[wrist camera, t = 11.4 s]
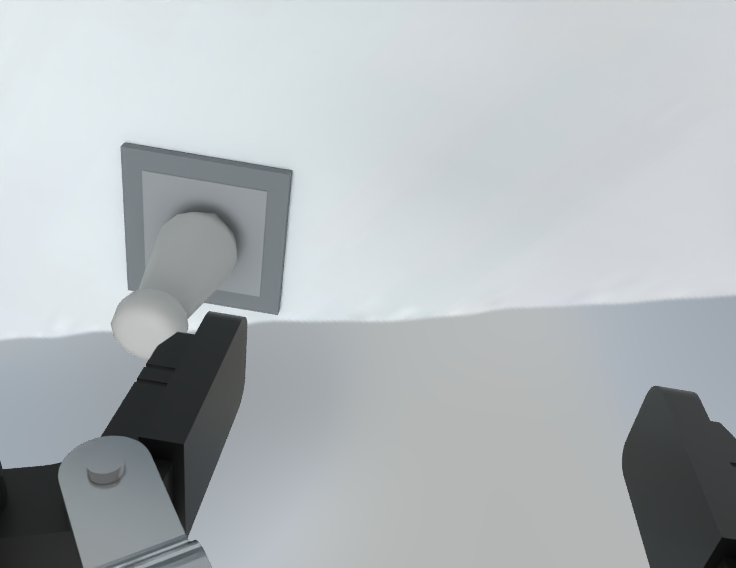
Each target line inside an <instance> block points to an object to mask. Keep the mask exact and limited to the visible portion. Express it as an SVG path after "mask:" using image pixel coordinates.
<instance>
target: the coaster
mask: <svg viewBox="0 0 736 568" xmlns="http://www.w3.org/2000/svg"><path fill="white" fill-rule="evenodd" d="M121 164H122V183H123V203H124V222H125V242H126V261H127V280H128V290H131V291H136V290H139V287H140V284H141V281H142V278H143V275H144V272H145V270H146V267H147V264H148V261H149V258H150V255H151V253H152V250H153V247H154V244H155V241H156V239H157V236H158V234H159V231H160V229H161V227H162V226H163V225H164V224H165V223H167V222H168V221H169V220H171V219H172V218H173V217H175V216H176V215H177V214H182V213H187V212H205V213H216V214H217V215H218V216H219V217H220V218H221V219H222V220H223V221H224V222H225V224H226V225H227V226H228V227H229V228H230V229H231V230H232V231H233V234H234V238H235V241H236V250H237V261H236V264H235V266H234V268H233V270H232V273H231V275H230V276H229V277H228V278H227V279H226V280H225V281H224V282H223V283H222V284H221V286H220V287H219V288H218V289H217V290H216V291H215V292H214V293H213V294H212V295H211V296H210V297H209V298H208V299H207V300H206V301H205V302H204V303H209V304H215V305H221V306H227V307H233V308H239V309H245V310H251V311H257V312H263V313H269V314H275V315H278V313H279V310H280V300H281V289H282V278H283V267H284V256H285V245H286V234H287V223H288V212H289V201H290V190H291V178H292V171H291V170H285V169H279V168H273V167H267V166H261V165H255V164H249V163H243V162H237V161H231V160H225V159H219V158H213V157H207V156H201V155H195V154H189V153H183V152H177V151H172V150H166V149H160V148H154V147H148V146H142V145H136V144H130V143H124V144H123V145H122V146H121Z"/></svg>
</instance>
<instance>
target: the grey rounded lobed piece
mask: <svg viewBox="0 0 736 568" xmlns="http://www.w3.org/2000/svg"><path fill="white" fill-rule="evenodd" d="M236 261H237V250H236V241H235V238H234V234H233V231H232V230H231V229H230V228H229V227H228V226H227V225H226V224H225V222H224V221H223V220H222V219H221V218H220V217H219V216H218V215H217V214H216V213H205V212H187V213H182V214H177V215H176V216H175V217H173V218H172V219H171V220H169V221H168V222H167V223H165V224H164V225H163V226H162V227H161V229H160V231H159V234H158V236H157V239H156V241H155V244H154V247H153V250H152V253H151V255H150V258H149V261H148V264H147V267H146V270H145V272H144V275H143V278H142V281H141V284H140V287H139V290H136V291H134V292H132V293H131V294H130V295H128V296H127V297H126V298H124V299H123V300H122V301H121V302H120V303H119V305H118V307H117V309H116V312H115V314H114V317H113V319H112V322H111V326H112V331H113V335H114V337H115V339H116V340H117V341H118V343H119V344H120V345H121V347H122V348H123V349H125V350H127V351H128V352H130V353H131V354H133V355H134V356H136V357H140V358H144V359H148V360H149V358H150V357H151V355H152V354H153V352H154V350H155V349H156V347H157V346H158V345H159V344H161V343H162V342H163V341H165V340H166V339H168V338H169V337H171V336H172V335H174V334H175V333H176V332H182V333H186V332H187V330H188V320H187V319H188V318H189V317H190V316H191V315H192V314H193V313H194V312H195V311H196V310H197V309H198V308H199V307H200V306H201V305H202V304H203V303H204V302H205V301H206V300H207V299H208V298H209V297H210V296H211V295H212V294H213V293H214V292H215V291H216V290H217V289H218V288H219V287H220V286H221V284H222V283H223V282H224V281H225V280H226V279H227V278H228V277H229V276H230V275H231V273H232V270H233V268H234V266H235V264H236Z"/></svg>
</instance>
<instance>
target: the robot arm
mask: <svg viewBox="0 0 736 568" xmlns="http://www.w3.org/2000/svg"><path fill="white" fill-rule="evenodd" d="M246 343H247V319H246V317H241V316H235V315H229V314H223V313H217V312H211V311H209V312H208V313H207V314H206V315H205V317H204V319H203V321H202V323H201V324H200V326H199V328H198V330H197V332H196V333H195V335H194V334H188V333H182V332H176V333H175V334H174V335H172V336H171V337H169V338H168V339H166V340H165V341H163V342H162V343H161V344H159V345H158V346H157V347H156V349H155V350H154V352H153V354H152V355H151V357H150V358H149V360H148V362H147V363H146V367H144V368H143V370H142V371H141V373H140V375H139V376H138V378H137V382H135V383H134V384H133V386H132V387H131V389H130V391H129V392H128V394H127V396H126V397H125V399H124V400H123V402H122V404H121V405H120V407H119V408H118V410H117V412H116V413H115V415H114V416H113V418H112V420H111V421H110V423H109V425H108V426H107V428H106V429H105V431H104V433H103V434H102V436H101V437H100V438H95V439H92V440H89V441H87V442H85V443H83V444H81V445H79V446H78V447H76V448H74V449H73V450H72V451H71V452H70V453H69V454H68V455H67V456H66V457H65V458H64V460H63V461H62V462H61V463H57V464H52V465H45V466H36V467H24V468H12V469H2V466H1V462H0V568H212V566H211V564H210V562H209V560H208V558H207V555H206V553H205V551H204V549H203V547H202V546H201V544H200V543H199V542H198V541H197V540H194V541H191V542H190V541H189V540H188V535H189V533H190V530H191V528H192V525H193V523H194V520H195V517H196V515H197V512H198V510H199V507H200V505H201V502H202V500H203V497H204V495H205V492H206V490H207V487H208V485H209V482H210V480H211V477H212V475H213V472H214V470H215V467H216V465H217V462H218V460H219V457H220V454H221V452H222V449H223V447H224V444H225V442H226V439H227V437H228V434H229V431H230V429H231V427H232V424H233V422H234V419H235V416H236V414H237V411H238V409H239V406H240V403H241V399H242V395H243V390H244V383H245V368H246ZM622 470H623V475H624V479H625V482H626V485H627V489H628V493H629V496H630V499H631V503H632V506H633V510H634V513H635V517H636V520H637V524H638V527H639V530H640V534H641V538H642V541H643V544H644V547H645V551H646V555H647V558H648V562H649V565H650V568H736V439H735V437H733V435H732V434H731V433H730V432H729V431H728V430H727V429H726V428H725V427H724V426H723V425H722V424H721V423H719V422H713V421H710V420H709V417H708V415H707V413H706V411H705V409H704V407H703V405H702V403H701V400H700V398H699V397H698V395H697V394H696V393H694V392H690V391H684V390H678V389H672V388H666V387H660V386H653V387H652V388H651V389H650V390H649V391H648V393H647V395H646V397H645V399H644V402H643V404H642V406H641V408H640V411H639V413H638V415H637V417H636V419H635V422H634V424H633V426H632V428H631V431H630V433H629V435H628V438H627V440H626V442H625V445H624V449H623V456H622Z"/></svg>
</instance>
